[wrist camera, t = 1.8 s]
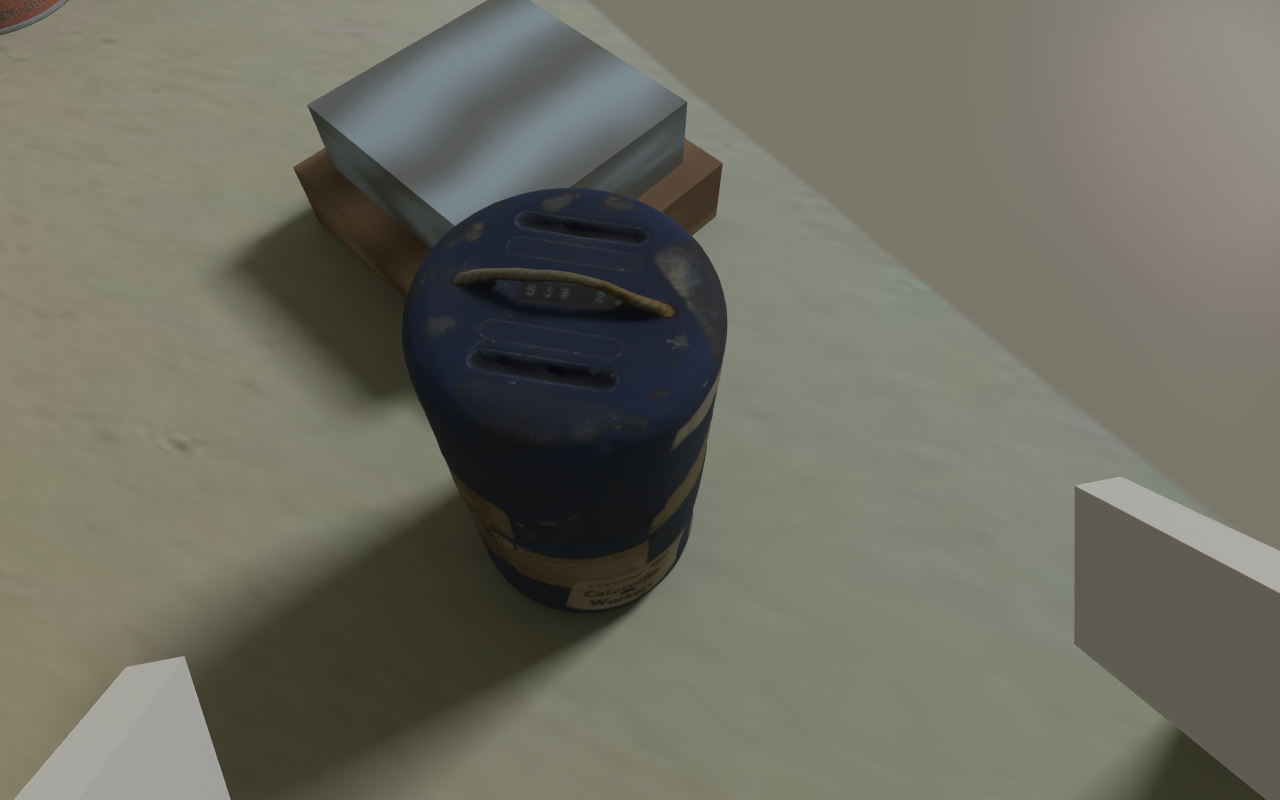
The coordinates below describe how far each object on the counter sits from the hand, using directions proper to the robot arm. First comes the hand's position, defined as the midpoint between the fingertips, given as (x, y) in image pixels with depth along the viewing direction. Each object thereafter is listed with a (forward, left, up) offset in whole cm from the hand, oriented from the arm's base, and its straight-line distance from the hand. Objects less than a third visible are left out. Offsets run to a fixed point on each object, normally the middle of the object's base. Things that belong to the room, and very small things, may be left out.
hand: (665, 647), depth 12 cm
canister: (-10, +6, -23) cm, 26 cm away
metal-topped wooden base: (-26, +16, -23) cm, 38 cm away
